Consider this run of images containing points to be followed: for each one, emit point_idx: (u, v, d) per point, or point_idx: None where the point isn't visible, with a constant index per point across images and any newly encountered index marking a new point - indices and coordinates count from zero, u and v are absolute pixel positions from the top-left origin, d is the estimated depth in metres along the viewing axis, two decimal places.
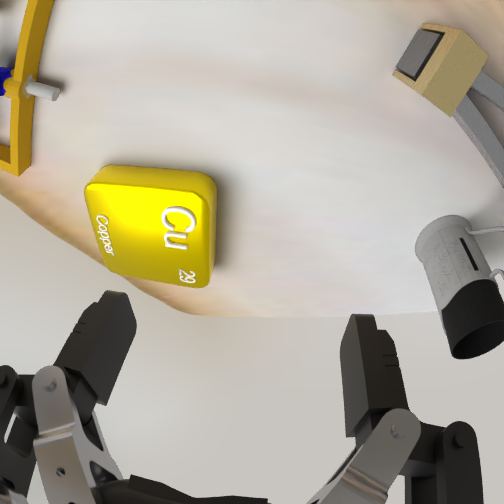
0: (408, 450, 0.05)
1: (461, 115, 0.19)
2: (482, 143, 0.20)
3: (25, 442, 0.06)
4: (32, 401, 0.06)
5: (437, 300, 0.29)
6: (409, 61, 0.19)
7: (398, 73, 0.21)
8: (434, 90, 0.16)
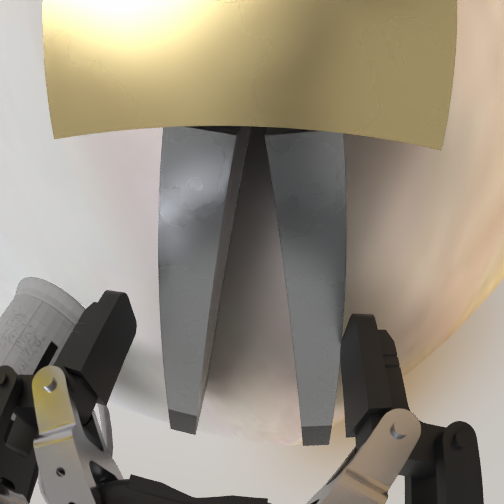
0: (408, 450, 0.05)
1: (163, 197, 0.08)
2: (163, 294, 0.10)
3: (25, 442, 0.06)
4: (32, 401, 0.06)
5: None
6: None
7: None
8: (81, 2, 0.03)
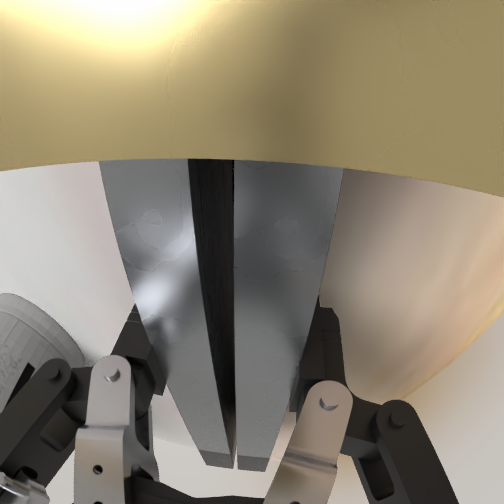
0: (336, 422, 0.06)
1: (121, 239, 0.06)
2: (155, 347, 0.08)
3: (63, 435, 0.07)
4: None
5: None
6: None
7: None
8: None
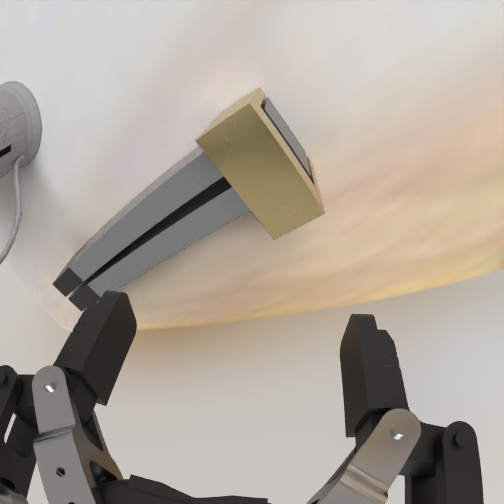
0: (408, 450, 0.05)
1: (183, 169, 0.17)
2: (141, 203, 0.18)
3: (25, 442, 0.06)
4: (32, 401, 0.06)
5: None
6: (276, 116, 0.17)
7: (262, 95, 0.17)
8: (248, 127, 0.13)
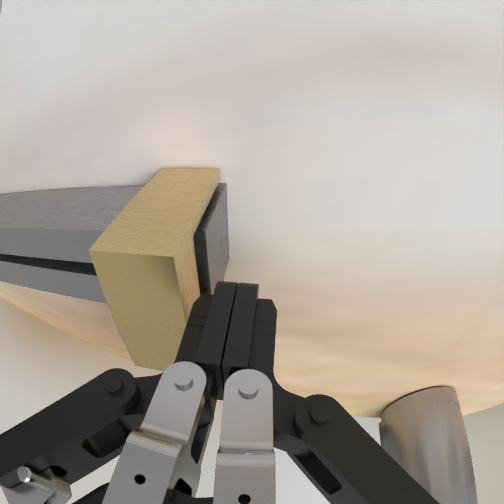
0: (251, 411, 0.07)
1: (80, 231, 0.12)
2: (27, 230, 0.12)
3: (108, 442, 0.07)
4: None
5: None
6: (219, 224, 0.14)
7: (215, 187, 0.14)
8: (157, 278, 0.09)
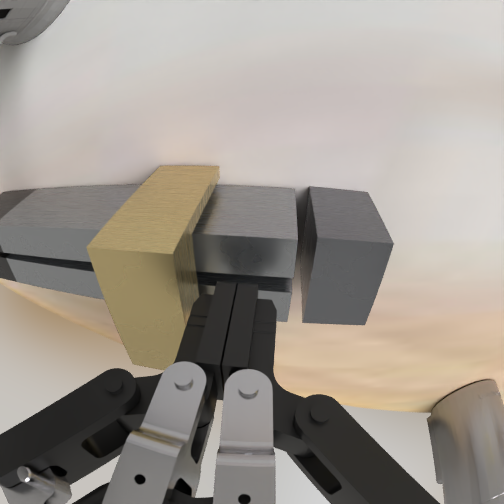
0: (251, 411, 0.07)
1: (241, 238, 0.11)
2: None
3: (107, 442, 0.07)
4: None
5: None
6: None
7: (214, 184, 0.14)
8: (156, 275, 0.09)
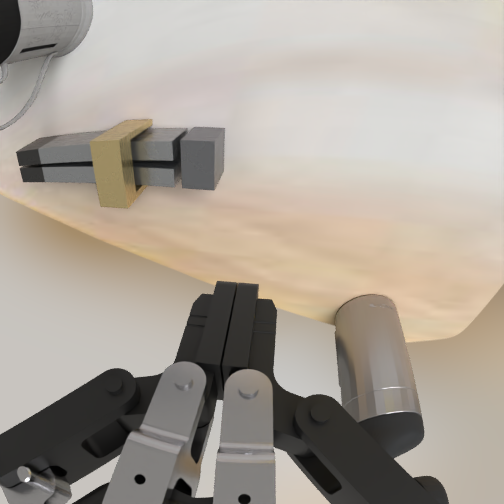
0: (251, 411, 0.07)
1: (150, 142, 0.25)
2: None
3: (107, 442, 0.07)
4: None
5: None
6: (220, 145, 0.27)
7: (147, 126, 0.27)
8: (113, 150, 0.22)
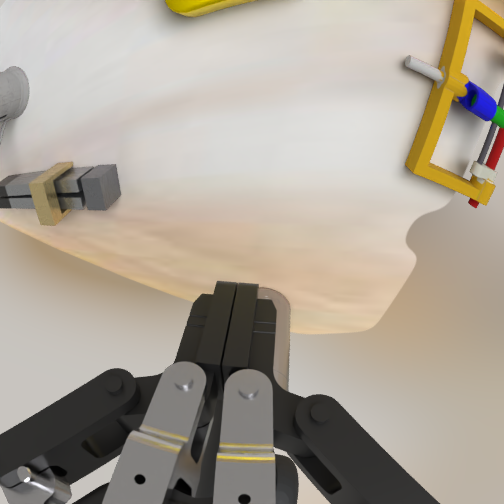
0: (251, 411, 0.07)
1: (65, 181, 0.34)
2: None
3: (107, 441, 0.07)
4: None
5: None
6: (109, 177, 0.36)
7: (68, 167, 0.36)
8: (41, 189, 0.32)
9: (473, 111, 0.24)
